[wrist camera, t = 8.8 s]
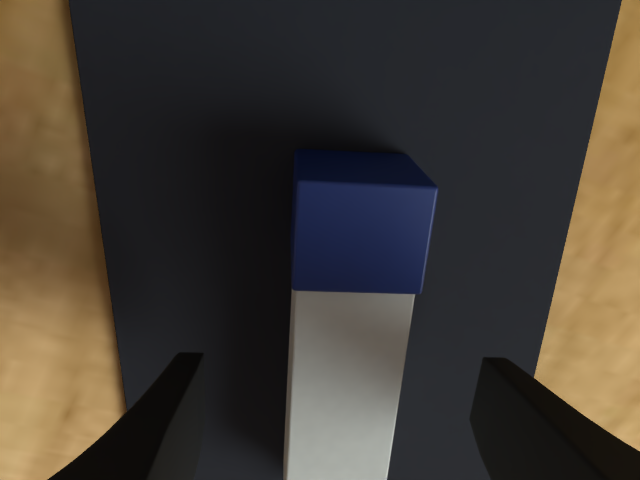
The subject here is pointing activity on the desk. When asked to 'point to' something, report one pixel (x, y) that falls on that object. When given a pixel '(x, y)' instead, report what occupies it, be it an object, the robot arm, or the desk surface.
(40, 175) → the desk surface
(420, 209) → the marker
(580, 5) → the mat
